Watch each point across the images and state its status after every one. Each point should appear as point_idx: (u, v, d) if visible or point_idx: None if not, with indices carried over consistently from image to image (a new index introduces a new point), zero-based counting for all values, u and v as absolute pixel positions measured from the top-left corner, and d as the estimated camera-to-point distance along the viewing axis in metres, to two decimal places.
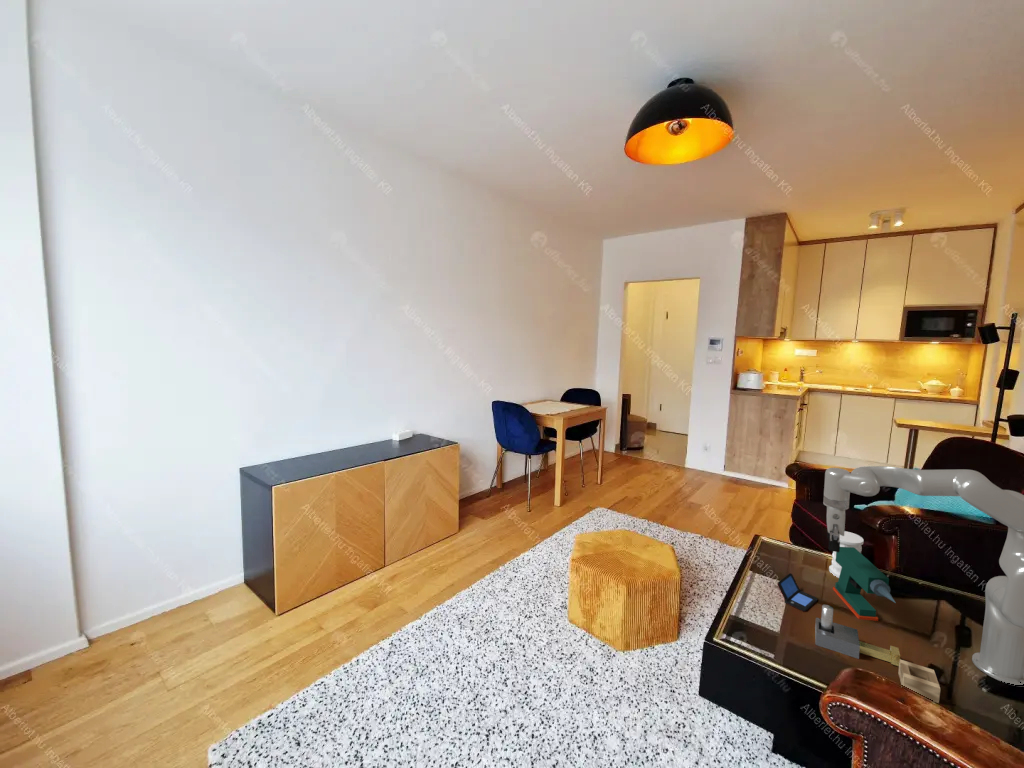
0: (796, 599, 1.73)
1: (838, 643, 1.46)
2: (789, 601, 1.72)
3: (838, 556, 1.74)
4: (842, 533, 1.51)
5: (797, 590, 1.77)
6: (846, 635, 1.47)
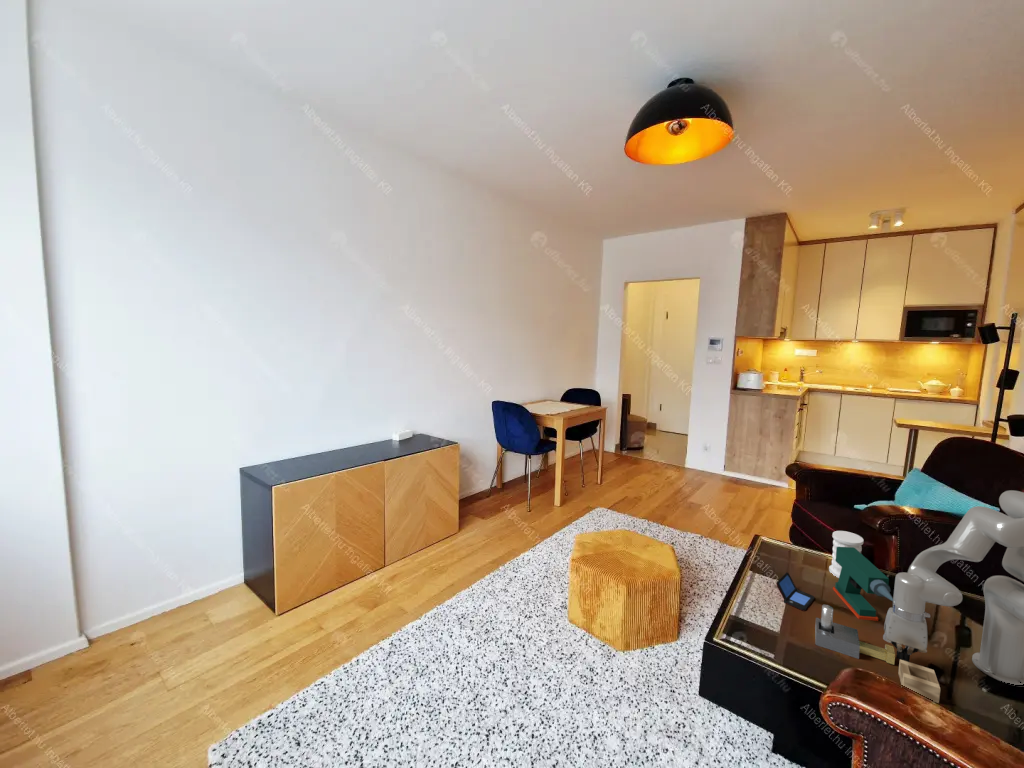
0: (794, 598, 1.73)
1: (838, 643, 1.46)
2: (788, 601, 1.72)
3: (838, 556, 1.74)
4: None
5: (794, 589, 1.78)
6: (846, 635, 1.47)
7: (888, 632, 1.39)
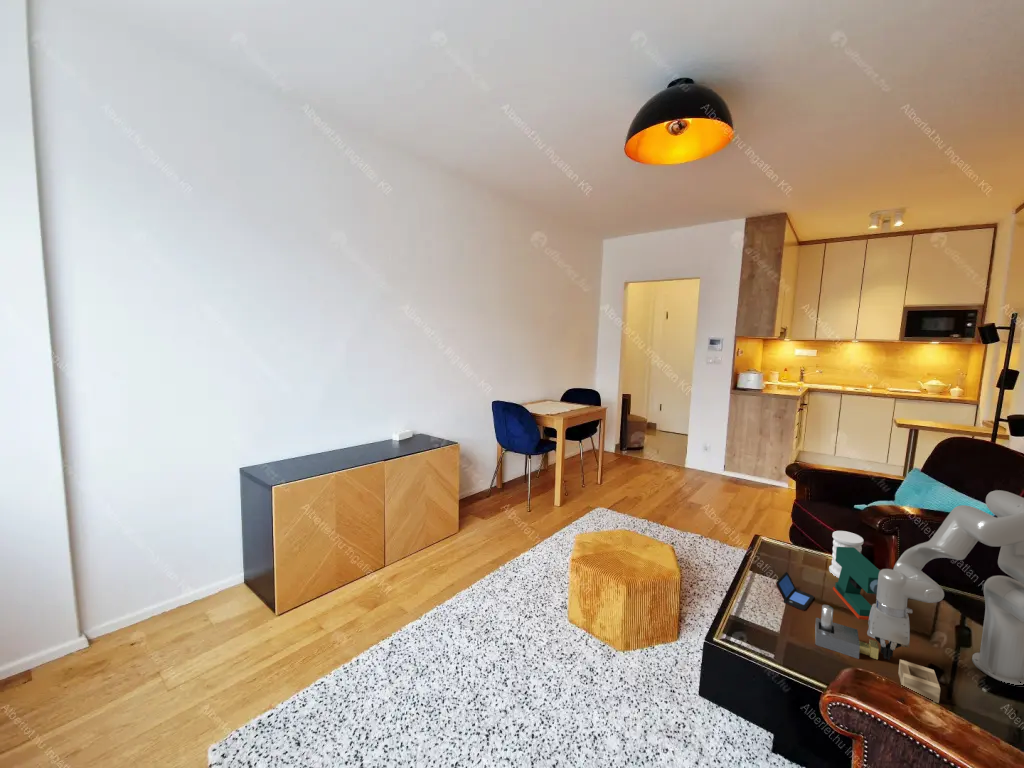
0: (794, 598, 1.73)
1: (838, 643, 1.46)
2: (788, 600, 1.72)
3: (838, 556, 1.74)
4: None
5: (793, 589, 1.78)
6: (846, 635, 1.47)
7: (872, 627, 1.42)
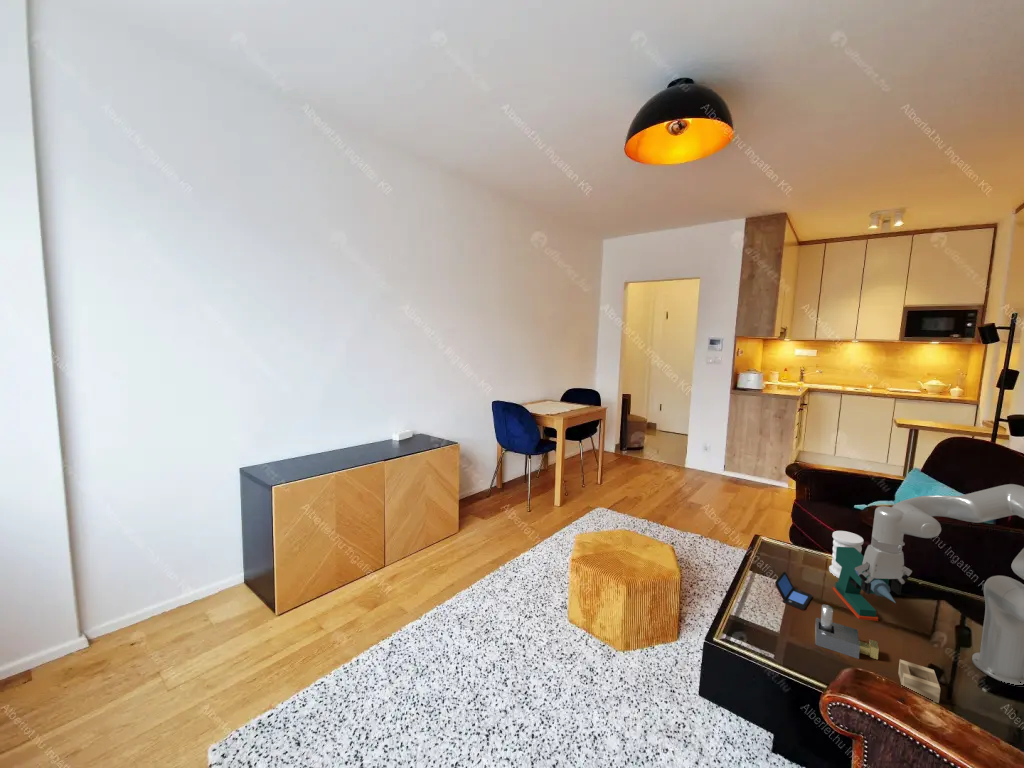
0: (793, 598, 1.74)
1: (838, 643, 1.46)
2: (787, 600, 1.72)
3: (838, 556, 1.74)
4: None
5: (792, 588, 1.79)
6: (846, 635, 1.47)
7: (874, 570, 1.37)
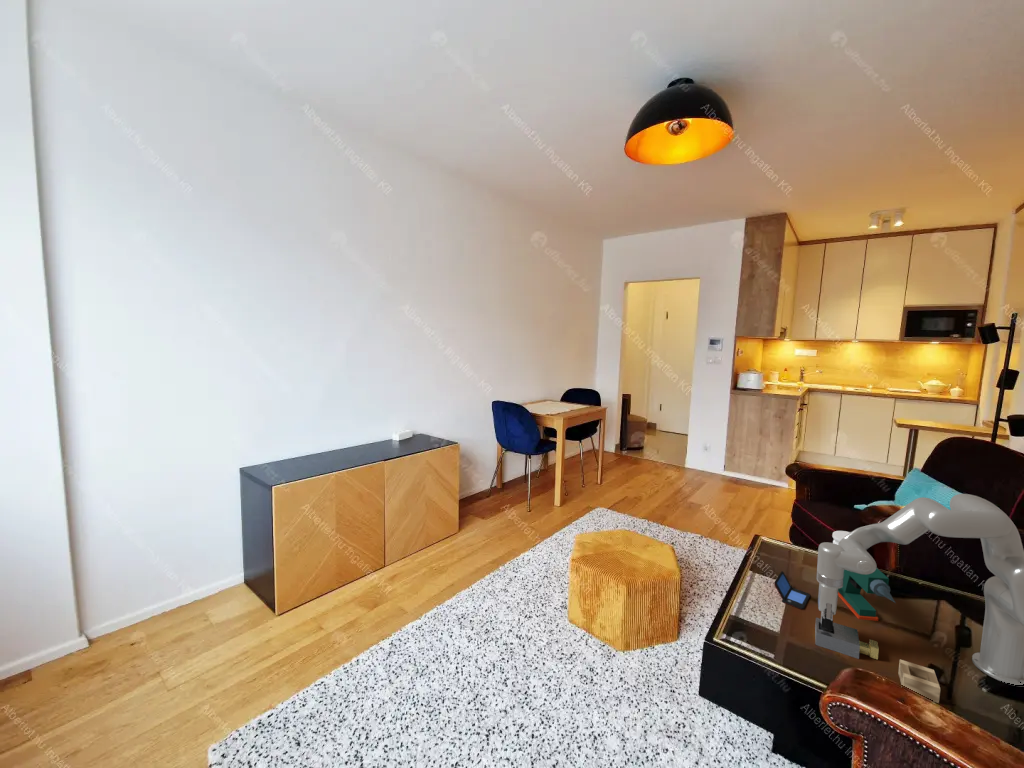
0: (792, 597, 1.74)
1: (838, 643, 1.46)
2: (786, 600, 1.72)
3: None
4: None
5: (790, 587, 1.79)
6: (846, 635, 1.47)
7: None
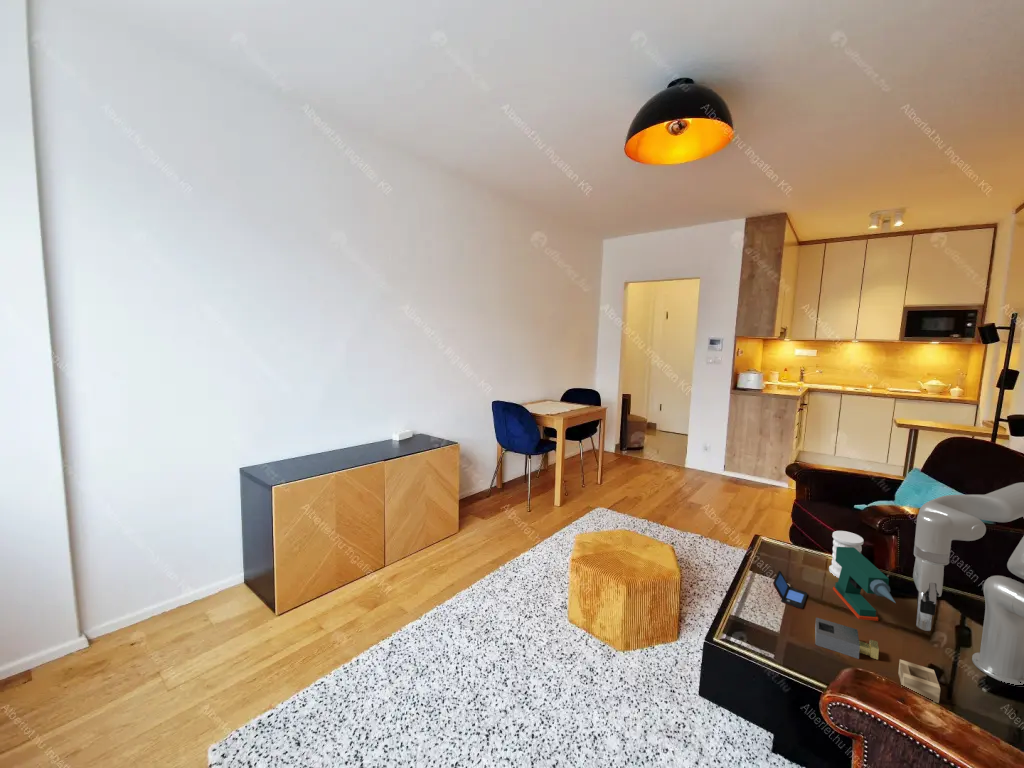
0: (790, 596, 1.74)
1: (838, 643, 1.46)
2: (785, 600, 1.73)
3: (838, 556, 1.74)
4: None
5: (787, 587, 1.80)
6: (846, 635, 1.47)
7: None
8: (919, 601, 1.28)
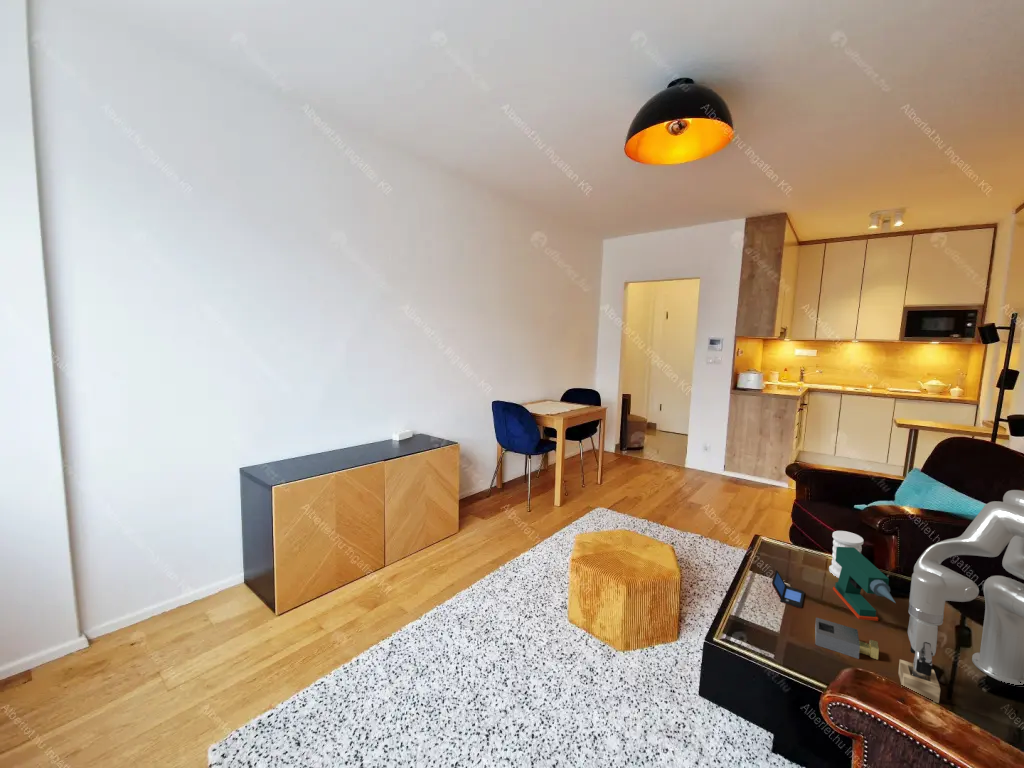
0: (788, 596, 1.75)
1: (838, 643, 1.46)
2: (784, 599, 1.73)
3: (838, 556, 1.74)
4: None
5: (785, 586, 1.80)
6: (846, 635, 1.47)
7: (935, 648, 1.24)
8: (915, 663, 1.30)
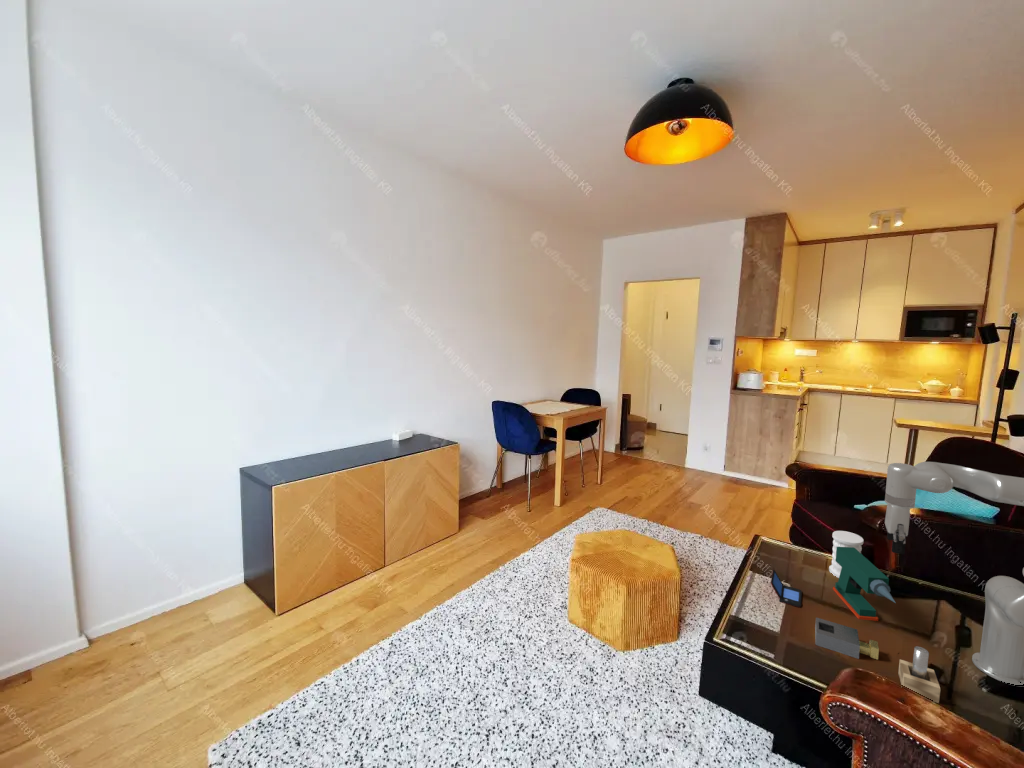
0: (787, 595, 1.75)
1: (838, 643, 1.46)
2: (783, 599, 1.73)
3: (838, 556, 1.74)
4: None
5: (782, 585, 1.81)
6: (846, 635, 1.47)
7: None
8: (914, 662, 1.31)
